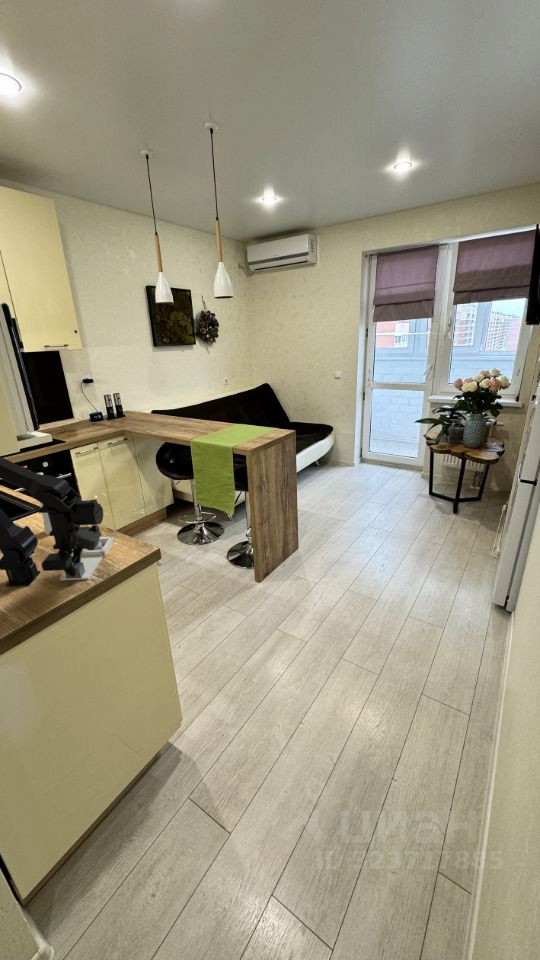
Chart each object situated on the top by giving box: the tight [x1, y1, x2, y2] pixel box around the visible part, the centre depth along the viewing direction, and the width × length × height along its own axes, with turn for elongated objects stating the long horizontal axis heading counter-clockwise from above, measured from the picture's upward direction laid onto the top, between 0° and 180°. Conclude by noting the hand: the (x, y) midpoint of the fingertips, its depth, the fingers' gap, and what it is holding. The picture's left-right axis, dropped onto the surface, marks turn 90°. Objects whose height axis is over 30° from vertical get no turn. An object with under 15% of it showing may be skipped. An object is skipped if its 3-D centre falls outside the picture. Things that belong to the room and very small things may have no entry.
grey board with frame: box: [59, 536, 115, 582], centre depth 116 cm, size 9×20×4 cm, turn 3°
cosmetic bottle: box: [36, 472, 52, 536], centre depth 131 cm, size 6×6×22 cm
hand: (75, 572), depth 108 cm, fingers closed on grey board with frame, 3 cm apart
